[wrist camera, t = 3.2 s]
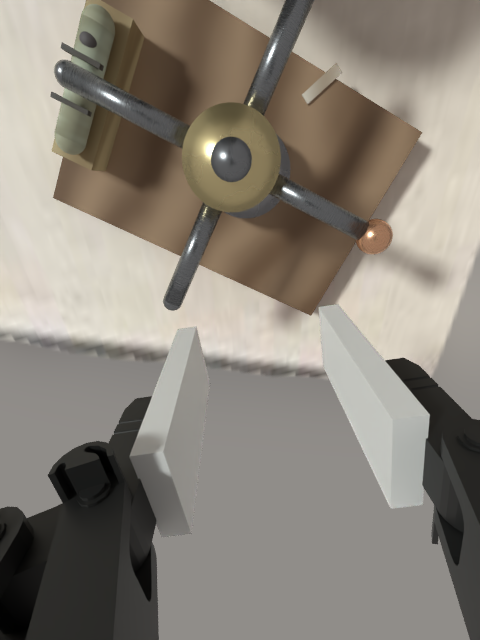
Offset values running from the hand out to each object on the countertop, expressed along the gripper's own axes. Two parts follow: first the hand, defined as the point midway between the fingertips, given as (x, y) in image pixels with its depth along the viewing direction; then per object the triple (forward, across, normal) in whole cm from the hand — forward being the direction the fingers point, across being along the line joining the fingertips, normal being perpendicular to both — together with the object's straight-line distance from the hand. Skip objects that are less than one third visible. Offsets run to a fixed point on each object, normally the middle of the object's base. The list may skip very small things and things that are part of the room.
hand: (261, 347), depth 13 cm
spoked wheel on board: (+21, 0, +7) cm, 22 cm away
